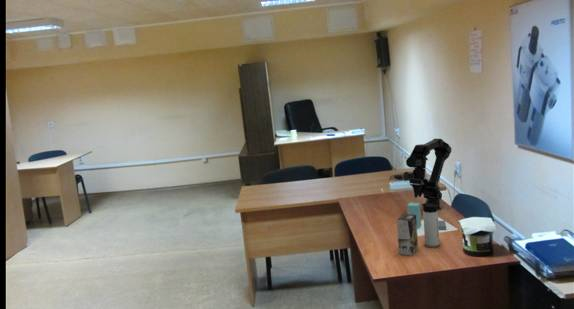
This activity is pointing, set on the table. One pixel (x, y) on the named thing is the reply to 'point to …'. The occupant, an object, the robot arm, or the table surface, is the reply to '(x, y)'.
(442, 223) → the snap base
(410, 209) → the teal pillar block
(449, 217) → the table surface
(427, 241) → the travel mug
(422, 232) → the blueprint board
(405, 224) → the coffee box
